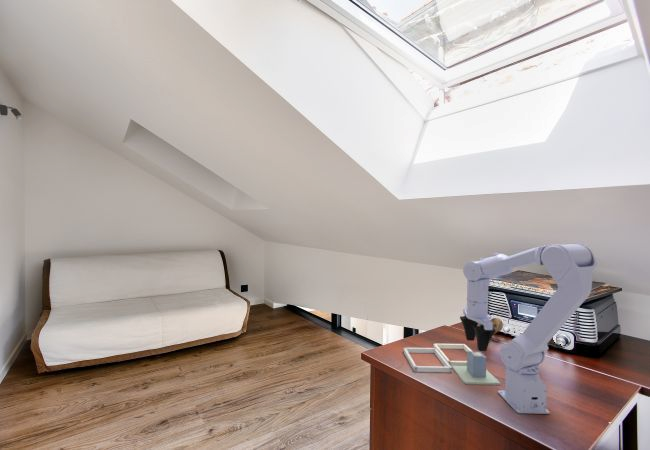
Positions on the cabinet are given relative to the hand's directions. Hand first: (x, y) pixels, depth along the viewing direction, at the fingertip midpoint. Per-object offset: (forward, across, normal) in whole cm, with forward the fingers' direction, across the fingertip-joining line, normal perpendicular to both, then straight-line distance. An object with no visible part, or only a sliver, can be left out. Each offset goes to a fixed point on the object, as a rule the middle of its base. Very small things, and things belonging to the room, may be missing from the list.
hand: (476, 345), depth 96 cm
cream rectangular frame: (+9, +13, 0) cm, 16 cm away
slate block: (+9, 0, 0) cm, 9 cm away
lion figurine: (+10, +32, -19) cm, 38 cm away
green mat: (+9, 0, 0) cm, 9 cm away
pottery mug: (+10, +25, -39) cm, 47 cm away
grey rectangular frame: (+9, +9, +12) cm, 18 cm away
